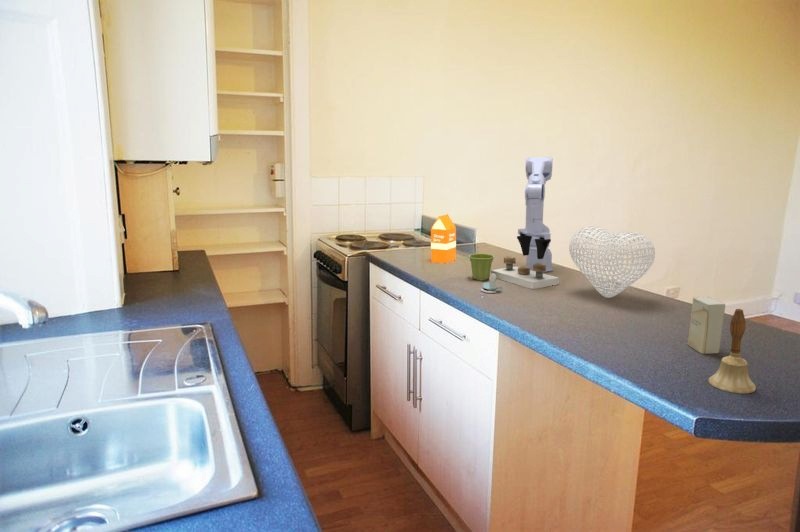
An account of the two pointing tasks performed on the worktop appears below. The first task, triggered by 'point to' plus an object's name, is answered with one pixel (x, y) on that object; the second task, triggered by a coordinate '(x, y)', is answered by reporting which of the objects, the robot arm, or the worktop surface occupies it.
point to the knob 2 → (539, 269)
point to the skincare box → (706, 325)
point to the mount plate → (525, 278)
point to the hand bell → (734, 362)
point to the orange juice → (443, 240)
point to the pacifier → (490, 285)
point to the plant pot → (481, 265)
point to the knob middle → (523, 270)
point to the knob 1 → (509, 262)
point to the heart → (616, 236)
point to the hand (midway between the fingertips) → (533, 257)
